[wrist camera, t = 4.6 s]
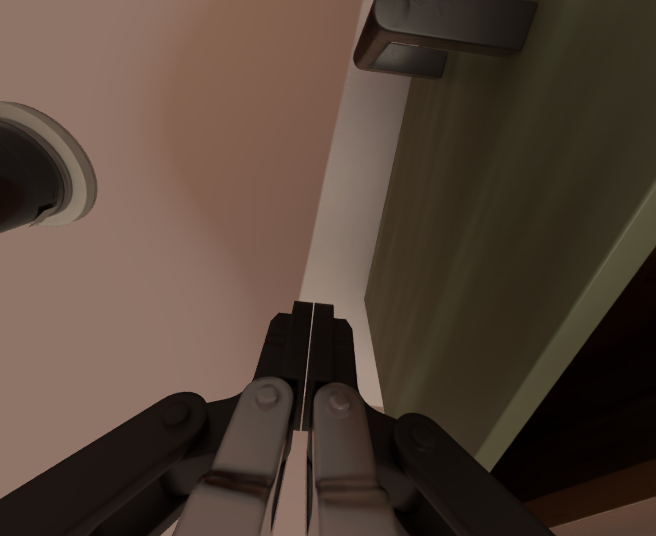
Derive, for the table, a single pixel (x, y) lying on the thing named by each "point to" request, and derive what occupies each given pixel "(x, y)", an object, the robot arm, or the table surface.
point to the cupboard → (596, 429)
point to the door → (507, 199)
